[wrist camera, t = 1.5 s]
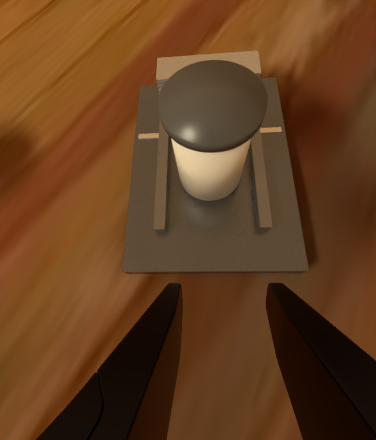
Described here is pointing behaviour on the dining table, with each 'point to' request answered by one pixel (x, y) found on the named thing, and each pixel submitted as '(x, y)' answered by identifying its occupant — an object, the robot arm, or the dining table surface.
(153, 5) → the dining table surface
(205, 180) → the knob
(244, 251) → the knob mount
